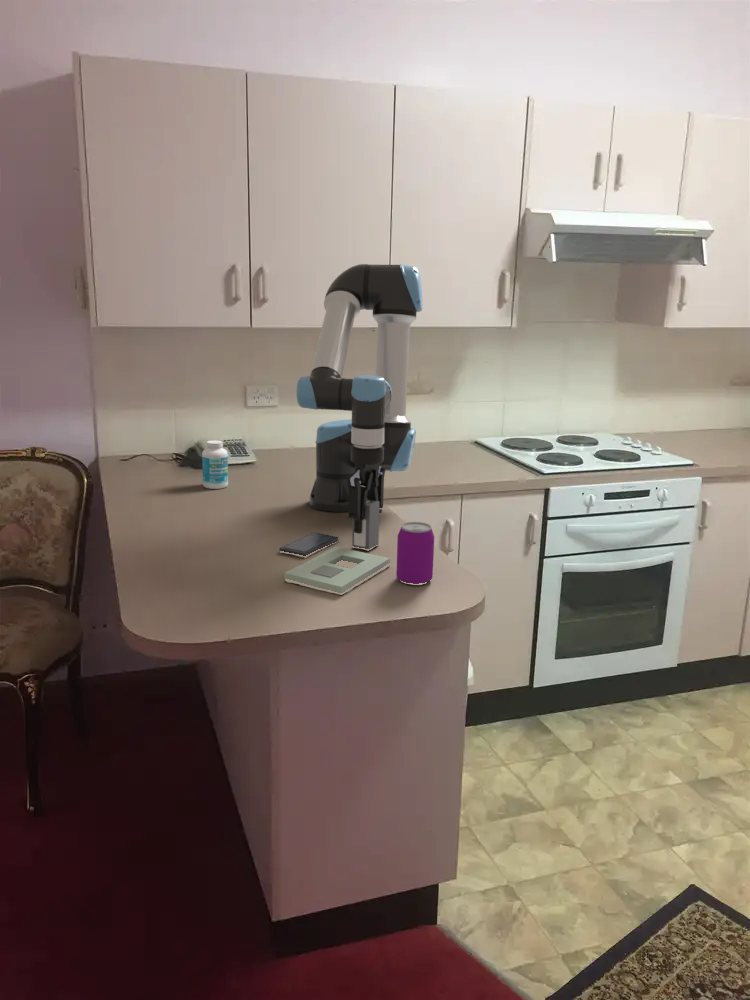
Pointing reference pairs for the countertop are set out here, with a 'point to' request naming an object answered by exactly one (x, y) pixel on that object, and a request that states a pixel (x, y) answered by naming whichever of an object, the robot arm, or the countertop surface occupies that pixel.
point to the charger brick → (370, 524)
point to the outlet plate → (337, 569)
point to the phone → (309, 544)
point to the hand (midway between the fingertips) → (365, 542)
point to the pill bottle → (215, 465)
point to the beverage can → (415, 553)
